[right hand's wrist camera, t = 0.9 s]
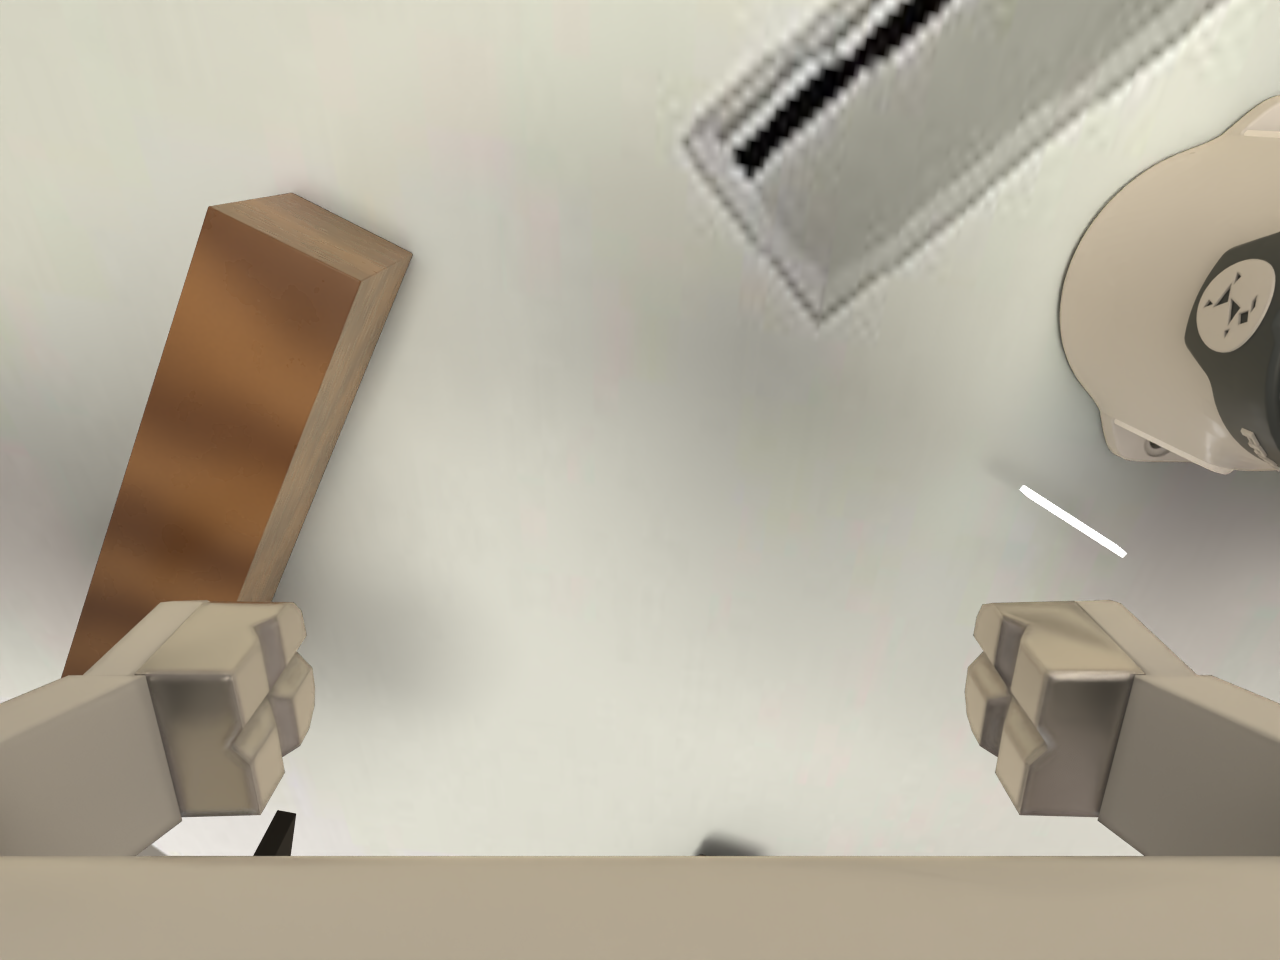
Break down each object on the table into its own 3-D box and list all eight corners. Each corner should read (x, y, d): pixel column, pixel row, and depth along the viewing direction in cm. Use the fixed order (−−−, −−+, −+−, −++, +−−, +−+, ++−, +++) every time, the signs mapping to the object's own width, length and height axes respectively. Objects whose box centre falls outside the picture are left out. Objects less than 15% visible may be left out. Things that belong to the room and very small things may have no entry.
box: (291, 192, 42) (207, 205, 34) (413, 253, 43) (361, 281, 35) (143, 619, 51) (49, 712, 43) (247, 660, 52) (175, 759, 44)
